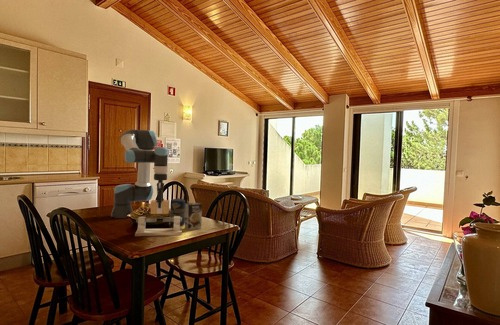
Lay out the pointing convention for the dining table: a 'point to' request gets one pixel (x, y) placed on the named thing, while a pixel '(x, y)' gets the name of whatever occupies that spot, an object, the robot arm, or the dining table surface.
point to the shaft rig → (157, 232)
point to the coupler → (164, 207)
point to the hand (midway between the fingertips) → (159, 212)
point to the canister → (177, 209)
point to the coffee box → (193, 216)
